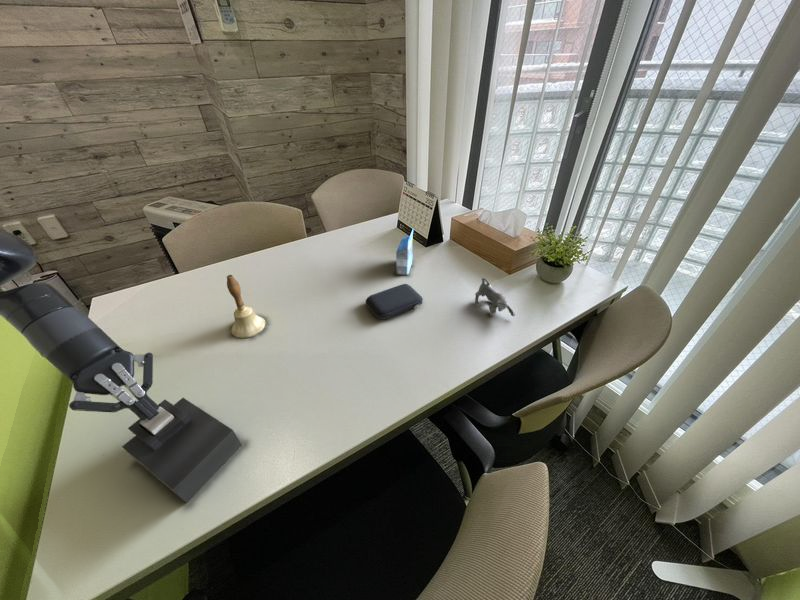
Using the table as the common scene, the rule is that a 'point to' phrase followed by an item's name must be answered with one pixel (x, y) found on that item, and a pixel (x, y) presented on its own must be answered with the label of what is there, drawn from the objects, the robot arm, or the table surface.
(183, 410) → the black square panel
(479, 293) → the dog figurine
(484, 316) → the table surface
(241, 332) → the hand bell
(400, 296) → the carrying case
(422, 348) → the table surface
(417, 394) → the table surface
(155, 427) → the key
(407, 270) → the blue white carton
